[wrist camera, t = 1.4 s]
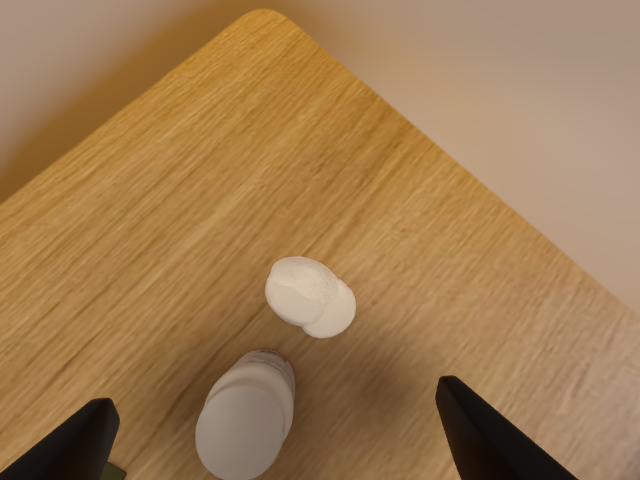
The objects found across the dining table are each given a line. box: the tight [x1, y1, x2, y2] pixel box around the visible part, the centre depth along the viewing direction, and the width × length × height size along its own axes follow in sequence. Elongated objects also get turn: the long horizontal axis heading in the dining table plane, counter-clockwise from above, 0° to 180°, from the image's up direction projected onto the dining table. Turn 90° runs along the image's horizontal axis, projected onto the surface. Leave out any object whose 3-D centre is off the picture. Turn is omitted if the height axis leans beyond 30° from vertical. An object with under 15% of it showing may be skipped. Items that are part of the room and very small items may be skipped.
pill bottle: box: [195, 349, 296, 480], centre depth 18 cm, size 5×5×8 cm
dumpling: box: [265, 256, 357, 338], centre depth 22 cm, size 7×5×4 cm
